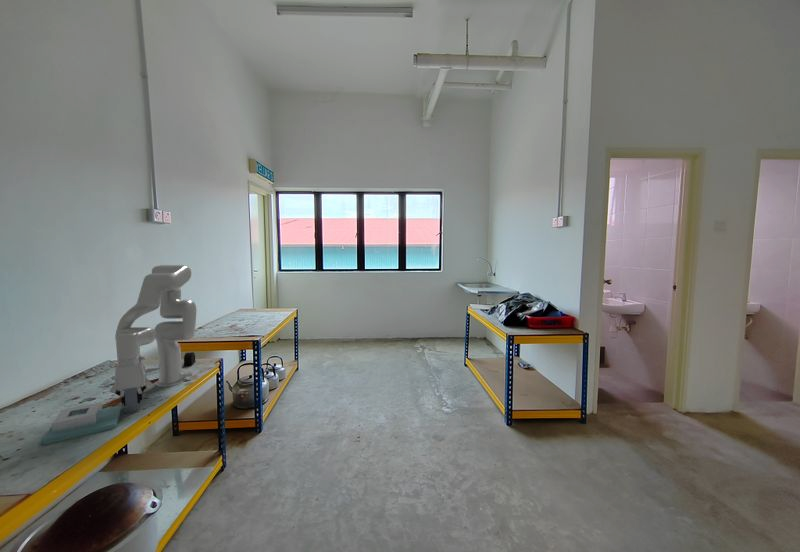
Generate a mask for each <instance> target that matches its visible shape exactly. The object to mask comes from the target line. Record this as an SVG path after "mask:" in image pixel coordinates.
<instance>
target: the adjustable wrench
mask: <svg viewBox="0 0 800 552" xmlns="http://www.w3.org/2000/svg"><path fill="white" fill-rule="evenodd" d="M158 370H159V366H155V365H152V366H148V367H147V366H146V367H145V373H148V372H153V371H158ZM111 381H115V375H114V376H113V375H112V376H111Z"/></svg>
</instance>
